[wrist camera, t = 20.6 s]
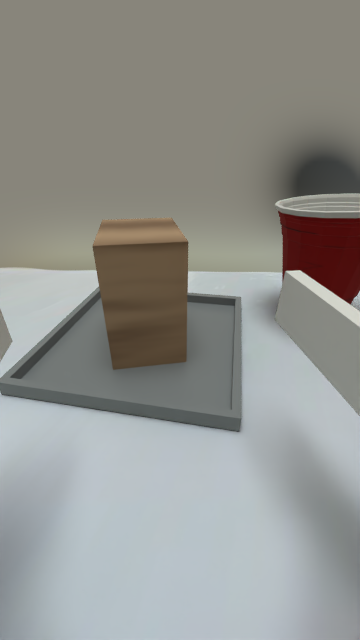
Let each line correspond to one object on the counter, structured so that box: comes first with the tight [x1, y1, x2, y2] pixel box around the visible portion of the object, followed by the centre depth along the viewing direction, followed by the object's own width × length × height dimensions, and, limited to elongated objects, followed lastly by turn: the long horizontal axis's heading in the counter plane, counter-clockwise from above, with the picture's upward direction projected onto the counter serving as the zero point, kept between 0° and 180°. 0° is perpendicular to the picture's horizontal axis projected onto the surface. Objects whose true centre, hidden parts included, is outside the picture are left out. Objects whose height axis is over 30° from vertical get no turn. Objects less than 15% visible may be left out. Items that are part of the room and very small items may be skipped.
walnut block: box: [93, 218, 188, 370], centre depth 23 cm, size 8×6×10 cm
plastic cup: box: [275, 194, 360, 304], centre depth 27 cm, size 11×11×12 cm
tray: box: [0, 287, 241, 431], centre depth 26 cm, size 17×17×1 cm
